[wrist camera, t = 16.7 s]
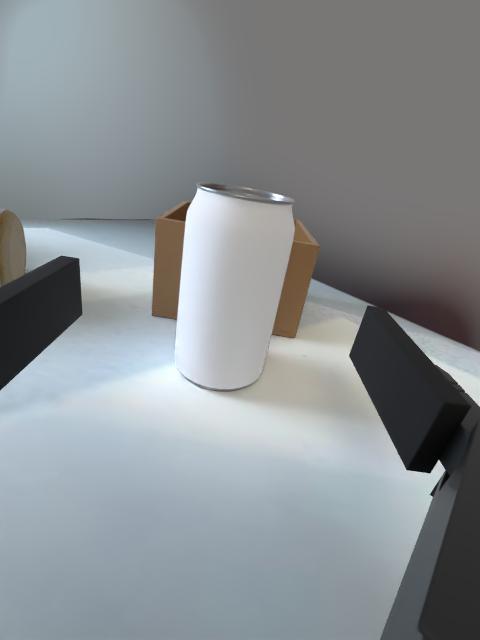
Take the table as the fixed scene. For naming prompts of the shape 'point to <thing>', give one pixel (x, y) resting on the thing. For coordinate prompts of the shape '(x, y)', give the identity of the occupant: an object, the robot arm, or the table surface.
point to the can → (231, 283)
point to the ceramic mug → (11, 247)
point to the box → (170, 264)
